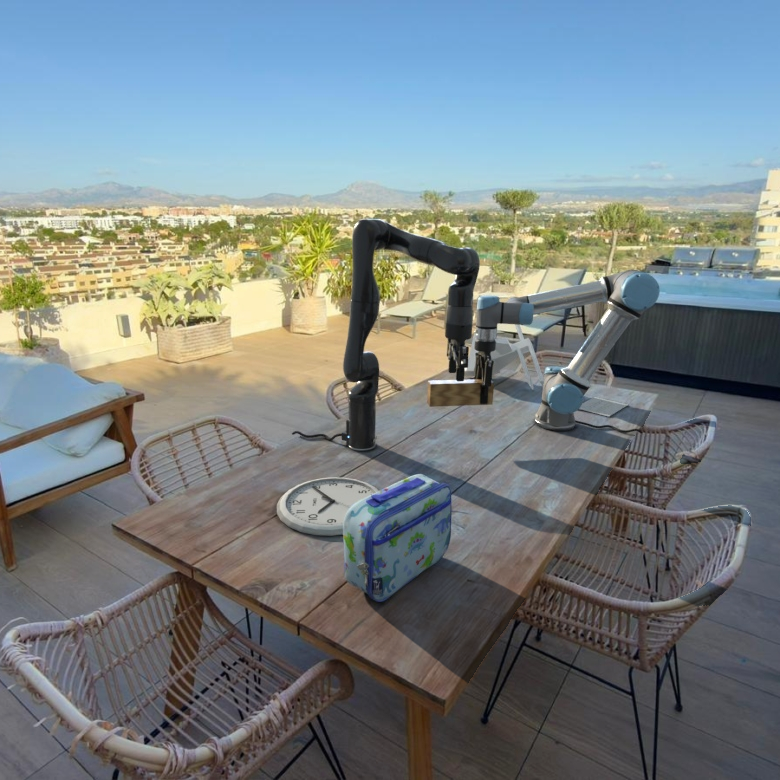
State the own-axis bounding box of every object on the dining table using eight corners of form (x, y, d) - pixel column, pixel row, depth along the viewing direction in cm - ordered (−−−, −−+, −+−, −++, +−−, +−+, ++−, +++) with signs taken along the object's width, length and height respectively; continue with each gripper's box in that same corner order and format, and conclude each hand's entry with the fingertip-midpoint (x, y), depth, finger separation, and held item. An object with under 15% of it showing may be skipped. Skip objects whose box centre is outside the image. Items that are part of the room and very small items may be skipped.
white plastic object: (480, 418, 266) (459, 395, 242) (461, 346, 288) (441, 318, 264) (550, 394, 254) (536, 368, 229) (526, 321, 276) (510, 289, 251)
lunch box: (371, 615, 102) (372, 521, 96) (337, 588, 110) (335, 499, 103) (455, 559, 120) (460, 477, 114) (420, 540, 127) (423, 461, 121)
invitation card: (608, 416, 214) (573, 407, 224) (608, 416, 214) (573, 408, 224) (628, 404, 229) (594, 396, 238) (628, 405, 229) (594, 397, 238)
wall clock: (392, 527, 129) (268, 531, 127) (391, 533, 130) (269, 537, 127) (383, 473, 158) (282, 475, 155) (383, 478, 158) (282, 480, 156)
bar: (488, 400, 197) (490, 378, 195) (492, 404, 193) (494, 382, 190) (427, 402, 194) (427, 380, 191) (429, 406, 189) (430, 384, 187)
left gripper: (440, 317, 153) (437, 370, 158) (452, 326, 140) (449, 384, 144) (465, 317, 154) (461, 370, 159) (479, 325, 141) (475, 383, 146)
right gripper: (468, 334, 195) (464, 394, 202) (483, 344, 178) (478, 409, 185) (487, 334, 196) (483, 393, 203) (504, 344, 180) (499, 408, 186)
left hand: (455, 376), depth 152 cm, fingers open, 8 cm apart
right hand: (481, 400), depth 194 cm, fingers closed on bar, 5 cm apart
